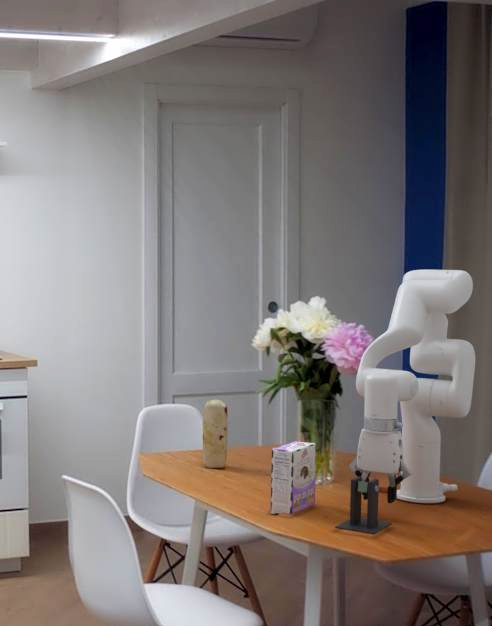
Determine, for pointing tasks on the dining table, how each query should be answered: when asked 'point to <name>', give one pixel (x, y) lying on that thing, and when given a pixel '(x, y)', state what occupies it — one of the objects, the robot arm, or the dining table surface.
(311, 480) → the candy box
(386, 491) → the switch lever
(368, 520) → the two-post lever stand
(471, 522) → the dining table surface
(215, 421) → the food model
